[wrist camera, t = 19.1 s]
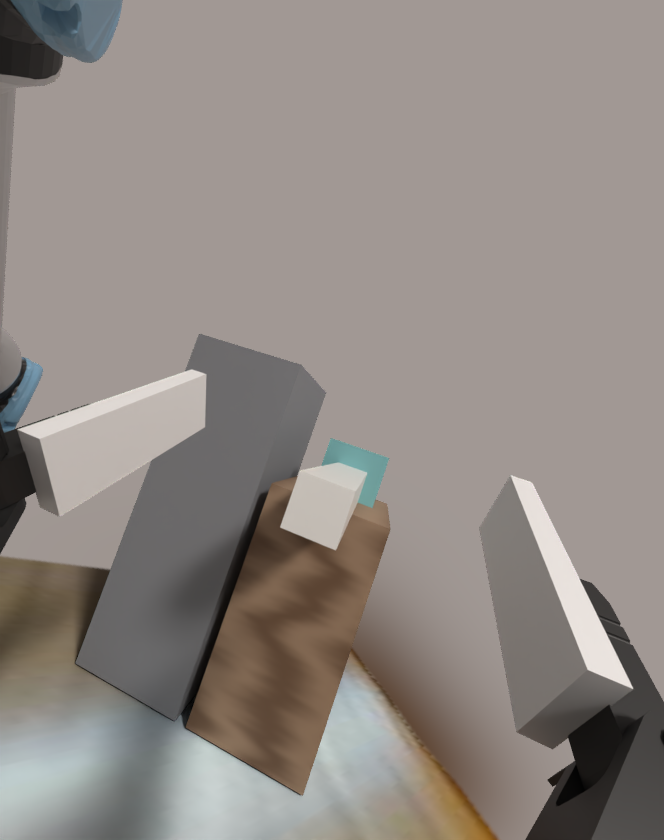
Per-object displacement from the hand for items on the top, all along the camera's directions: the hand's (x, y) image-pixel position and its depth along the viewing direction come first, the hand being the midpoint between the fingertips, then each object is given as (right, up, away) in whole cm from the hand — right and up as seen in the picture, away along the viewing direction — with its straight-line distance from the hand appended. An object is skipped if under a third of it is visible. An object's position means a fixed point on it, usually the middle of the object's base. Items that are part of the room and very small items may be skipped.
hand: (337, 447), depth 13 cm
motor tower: (-16, -22, +18) cm, 33 cm away
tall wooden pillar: (-6, -25, +16) cm, 30 cm away
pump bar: (0, -6, +12) cm, 13 cm away
